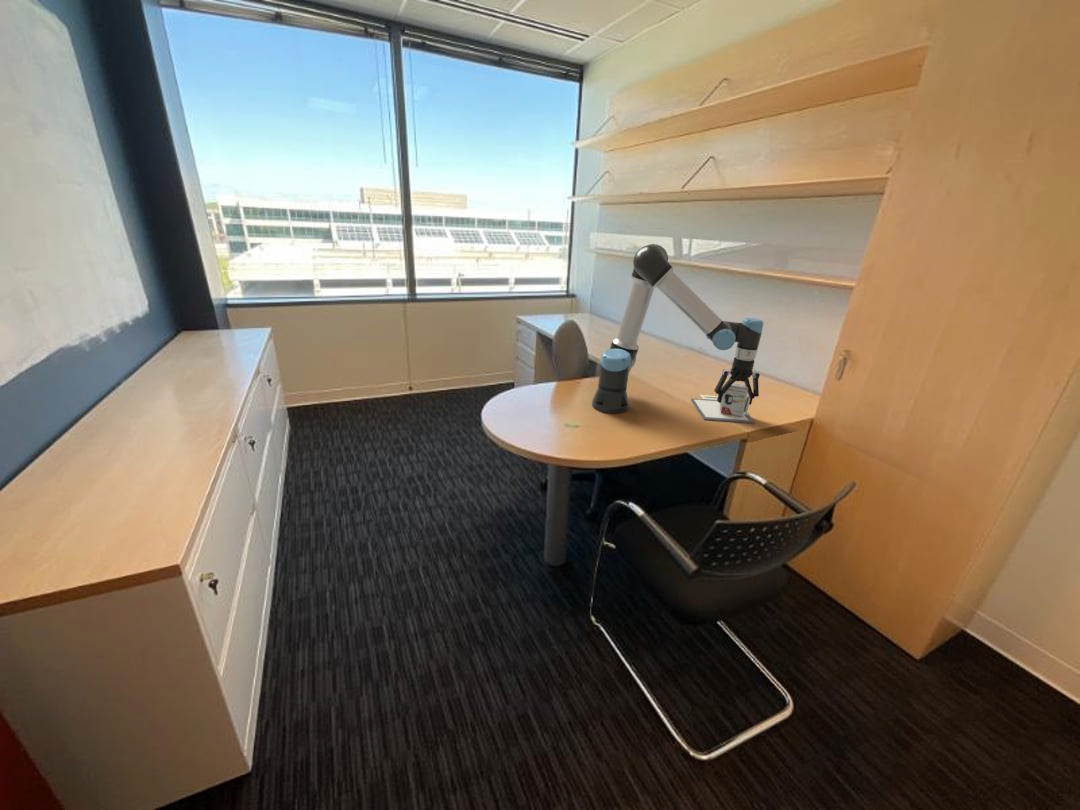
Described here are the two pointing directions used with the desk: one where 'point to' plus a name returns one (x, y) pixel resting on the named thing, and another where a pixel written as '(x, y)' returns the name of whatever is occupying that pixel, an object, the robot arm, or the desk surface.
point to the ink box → (735, 400)
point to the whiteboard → (718, 412)
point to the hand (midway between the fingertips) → (732, 410)
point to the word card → (709, 397)
